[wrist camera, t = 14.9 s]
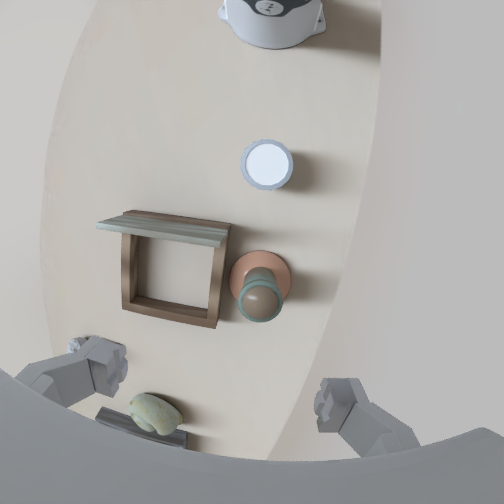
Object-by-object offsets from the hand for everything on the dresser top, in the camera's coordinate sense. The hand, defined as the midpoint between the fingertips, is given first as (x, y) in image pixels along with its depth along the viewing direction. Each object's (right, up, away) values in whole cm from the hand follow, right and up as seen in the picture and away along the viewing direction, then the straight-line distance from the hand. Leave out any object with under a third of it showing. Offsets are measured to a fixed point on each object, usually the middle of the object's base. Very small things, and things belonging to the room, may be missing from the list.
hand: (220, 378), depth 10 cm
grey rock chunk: (-35, -15, +40) cm, 56 cm away
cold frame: (-12, +3, +35) cm, 37 cm away
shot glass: (+3, +18, +31) cm, 36 cm away
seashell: (-21, -31, +44) cm, 58 cm away
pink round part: (+3, 0, +35) cm, 35 cm away
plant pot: (+3, 0, +34) cm, 34 cm away
